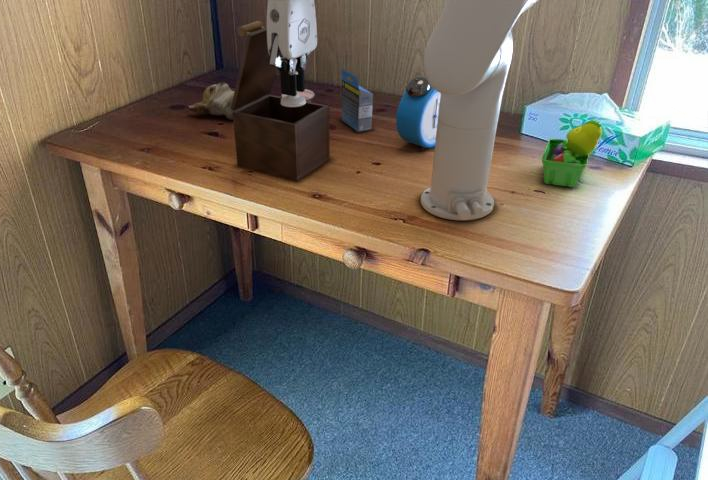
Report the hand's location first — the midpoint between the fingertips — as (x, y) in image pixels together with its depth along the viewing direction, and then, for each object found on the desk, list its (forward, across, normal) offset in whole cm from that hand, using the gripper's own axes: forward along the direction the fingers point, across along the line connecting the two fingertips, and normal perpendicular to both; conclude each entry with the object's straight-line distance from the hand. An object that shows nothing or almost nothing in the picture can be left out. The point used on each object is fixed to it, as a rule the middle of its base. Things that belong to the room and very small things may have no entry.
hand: (293, 92), depth 116 cm
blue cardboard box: (+15, +26, 0) cm, 30 cm away
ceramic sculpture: (+15, +16, +33) cm, 40 cm away
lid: (-4, 0, +7) cm, 8 cm away
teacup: (+15, +22, +14) cm, 31 cm away
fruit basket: (+15, +21, -48) cm, 54 cm away
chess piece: (+2, 0, 0) cm, 2 cm away
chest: (+15, 0, +3) cm, 15 cm away
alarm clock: (+15, +23, -18) cm, 33 cm away
